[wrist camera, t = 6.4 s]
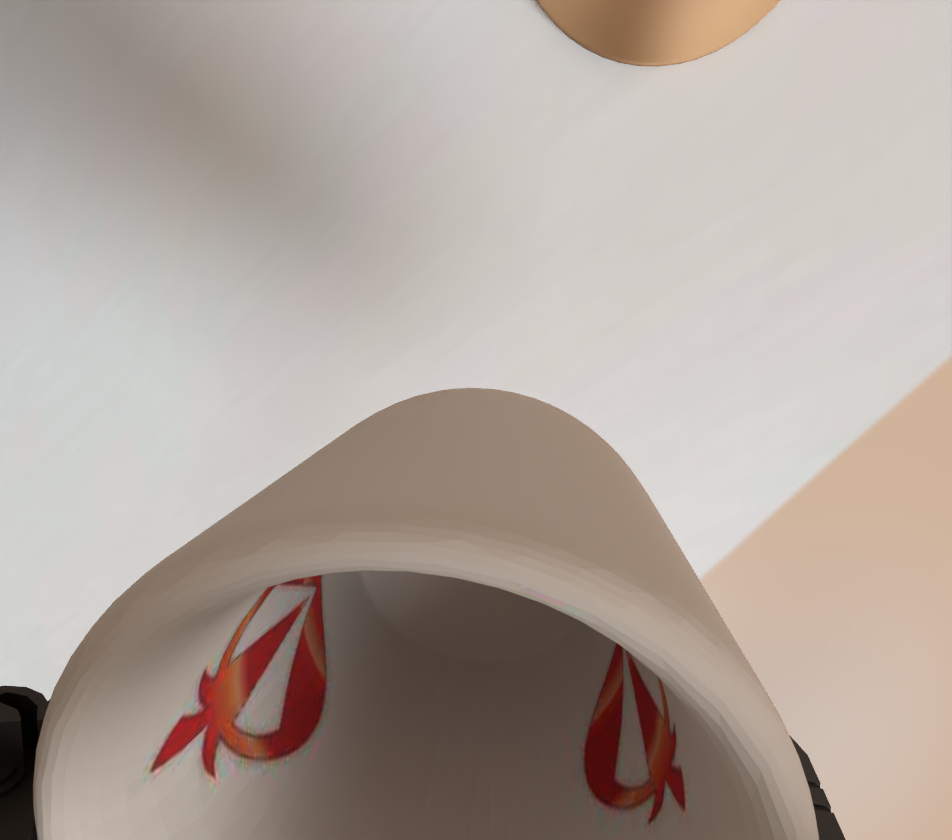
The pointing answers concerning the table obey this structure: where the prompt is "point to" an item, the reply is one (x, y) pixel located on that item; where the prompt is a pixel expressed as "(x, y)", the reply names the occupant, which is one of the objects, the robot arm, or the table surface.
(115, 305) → the table surface
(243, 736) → the cup
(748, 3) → the coaster
